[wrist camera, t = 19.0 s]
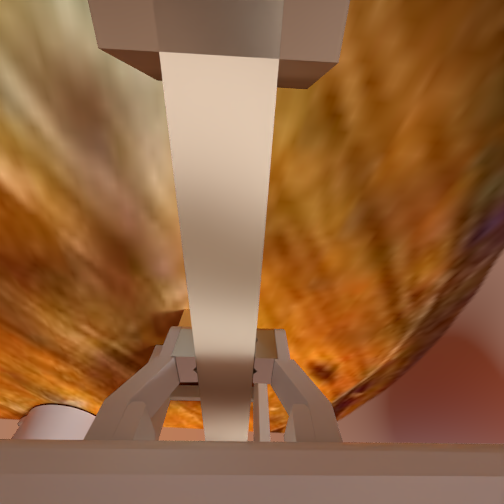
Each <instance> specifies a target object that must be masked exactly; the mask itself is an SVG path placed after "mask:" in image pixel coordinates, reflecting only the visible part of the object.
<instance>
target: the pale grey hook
mask: <svg viewBox="0 0 504 504" xmlns="http://www.w3.org/2000/svg"><path fill="white" fill-rule="evenodd" d="M88 3H89V8H90V12H91V17H92V21H93V26H94V30H95V35H96V40H97V44H98V48H99V49H101V50H103V51H105V52H106V53H108V54H110V55H112V56H114V57H116V58H117V59H119V60H121V61H123V62H125V63H127V64H128V65H130V66H132V67H134V68H136V69H138V70H139V71H141V72H143V73H145V74H147V75H149V76H150V77H152V78H154V79H156V80H160V81H163V89H164V97H165V105H166V114H167V122H168V131H169V139H170V147H171V156H172V164H173V173H174V181H175V189H176V198H177V206H178V215H179V223H180V231H181V240H182V248H183V257H184V265H185V273H186V282H187V290H188V299H189V307H190V315H191V324H192V332H193V341H194V349H195V354H196V362H197V371H198V379H199V380H198V383H199V391H200V399H201V408H202V416H203V425H204V433H205V441H247V438H248V426H249V414H250V402H251V390H252V378H253V366H254V354H255V342H256V330H257V318H258V306H259V294H260V282H261V270H262V258H263V246H264V234H265V222H266V210H267V198H268V186H269V174H270V162H271V150H272V138H273V126H274V114H275V102H276V90H277V87H279V88H296V89H308V88H309V87H310V86H311V85H312V84H314V83H315V82H316V81H317V80H318V79H320V78H321V77H322V76H323V75H324V74H326V73H327V72H328V71H329V70H330V69H331V68H333V67H334V66H335V65H336V64H337V63H338V62H339V57H340V51H341V46H342V41H343V35H344V30H345V24H346V19H347V14H348V8H349V3H350V0H88Z"/></svg>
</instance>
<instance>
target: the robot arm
mask: <svg viewBox="0 0 504 504" xmlns="http://www.w3.org/2000/svg"><path fill="white" fill-rule="evenodd" d="M198 380H199V379H198V371H197V362H196V354H195V349H194V341H193V332H192V327H184V326H172V327H171V328H170V329H169V332H168V334H167V337H166V339H165V342H164V344H163V346H162V349H161V351H160V354H159V356H158V357H154V358H153V359H152V360H151V361H149V362H148V363H147V364H146V365H145V366H144V367H142V368H141V369H140V370H139V371H138V372H137V373H135V374H134V375H133V376H132V377H131V378H130V379H128V380H127V381H126V382H125V383H124V384H123V385H121V386H120V387H119V388H118V389H117V390H116V391H114V392H113V393H112V394H111V395H110V396H109V397H108V398H106V399H105V400H104V402H103V404H102V406H101V408H100V410H99V412H98V413H97V415H96V416H94V415H92V414H90V413H88V412H85V411H83V410H80V409H77V408H73V407H68V406H62V405H42V406H37V407H35V408H33V409H31V410H30V412H29V414H28V415H27V416H25V417H22V418H21V419H20V421H19V422H18V426H20V427H19V428H18V430H17V431H16V433H15V434H14V436H13V437H12V438H11V439H0V504H504V444H457V443H454V444H453V443H356V442H354V443H353V442H351V443H350V442H343V441H342V438H341V434H340V431H339V428H338V424H337V421H336V418H335V414H334V411H333V408H332V404H331V403H330V402H329V400H328V399H327V398H326V397H325V396H324V395H323V393H322V392H321V391H320V390H319V389H318V388H317V387H316V385H315V384H314V383H313V382H312V381H311V380H310V378H309V377H308V376H307V375H306V374H305V373H304V371H303V370H302V369H301V368H300V367H299V366H298V364H297V363H296V362H295V361H294V360H290V355H289V350H288V344H287V338H286V333H285V330H284V329H257V330H256V342H255V354H254V366H253V383H262V384H271V386H272V388H273V390H274V391H275V393H276V395H277V396H278V398H279V400H280V401H281V403H282V405H283V406H284V408H285V410H286V411H287V413H288V415H289V419H288V423H287V427H286V430H285V434H284V442H255V441H155V438H156V433H155V430H154V427H153V424H152V422H151V418H152V417H153V415H154V414H155V413H156V412H157V411H158V409H159V408H160V407H161V406H162V404H163V403H164V402H165V401H166V399H167V398H168V397H169V396H170V394H171V393H172V392H173V391H174V390H175V388H176V387H177V386H178V385H179V382H198Z"/></svg>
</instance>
